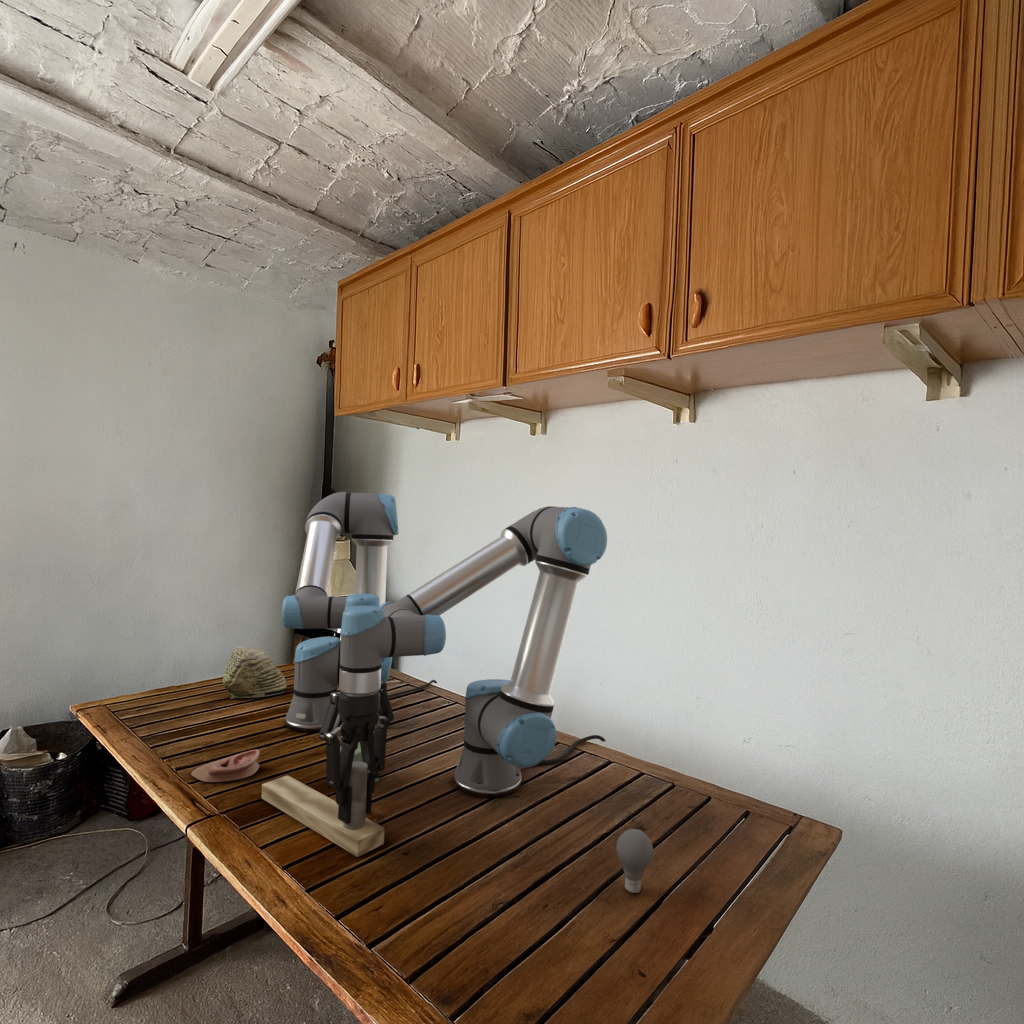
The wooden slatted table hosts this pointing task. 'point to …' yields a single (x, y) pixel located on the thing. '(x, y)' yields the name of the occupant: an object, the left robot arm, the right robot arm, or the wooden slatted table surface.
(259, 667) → the fossil
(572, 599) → the right robot arm
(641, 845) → the light bulb
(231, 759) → the anatomical model
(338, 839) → the birch board
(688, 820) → the wooden slatted table surface
